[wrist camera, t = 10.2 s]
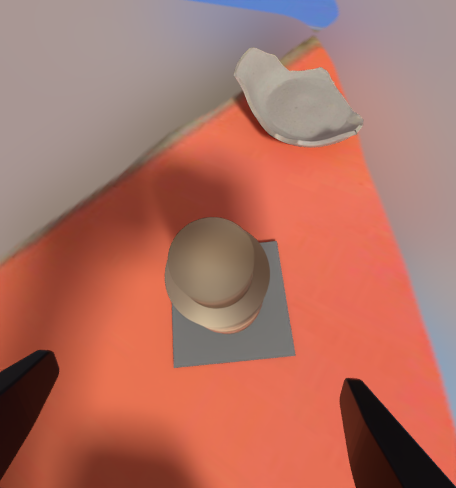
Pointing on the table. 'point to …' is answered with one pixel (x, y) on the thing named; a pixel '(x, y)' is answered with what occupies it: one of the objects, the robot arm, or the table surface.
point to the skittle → (217, 275)
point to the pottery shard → (295, 102)
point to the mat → (247, 341)
